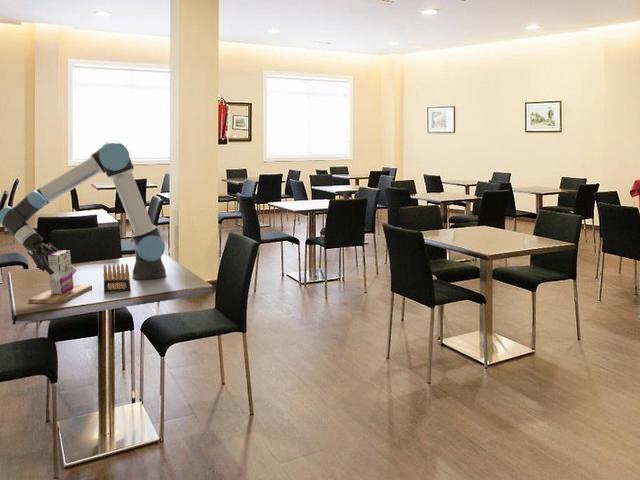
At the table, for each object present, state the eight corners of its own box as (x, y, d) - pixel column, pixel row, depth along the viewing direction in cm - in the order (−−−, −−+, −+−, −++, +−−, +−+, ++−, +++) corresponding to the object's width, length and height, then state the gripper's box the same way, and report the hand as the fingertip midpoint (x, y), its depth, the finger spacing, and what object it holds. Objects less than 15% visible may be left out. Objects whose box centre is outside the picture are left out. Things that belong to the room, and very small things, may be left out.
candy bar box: (62, 288, 258) (59, 250, 256) (73, 288, 258) (71, 250, 256) (50, 294, 247) (46, 255, 245) (62, 294, 247) (59, 255, 245)
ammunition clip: (130, 290, 260) (129, 262, 258) (130, 291, 258) (128, 263, 256) (104, 291, 258) (102, 263, 256) (104, 292, 257) (102, 264, 255)
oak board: (92, 288, 263) (91, 285, 263) (62, 303, 240) (61, 299, 239) (61, 288, 265) (61, 284, 265) (29, 302, 241) (28, 298, 241)
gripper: (40, 239, 263) (76, 275, 264) (6, 249, 240) (45, 288, 241) (50, 227, 262) (87, 263, 262) (17, 236, 238) (57, 276, 239)
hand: (67, 275), depth 251 cm, fingers closed on candy bar box, 11 cm apart
